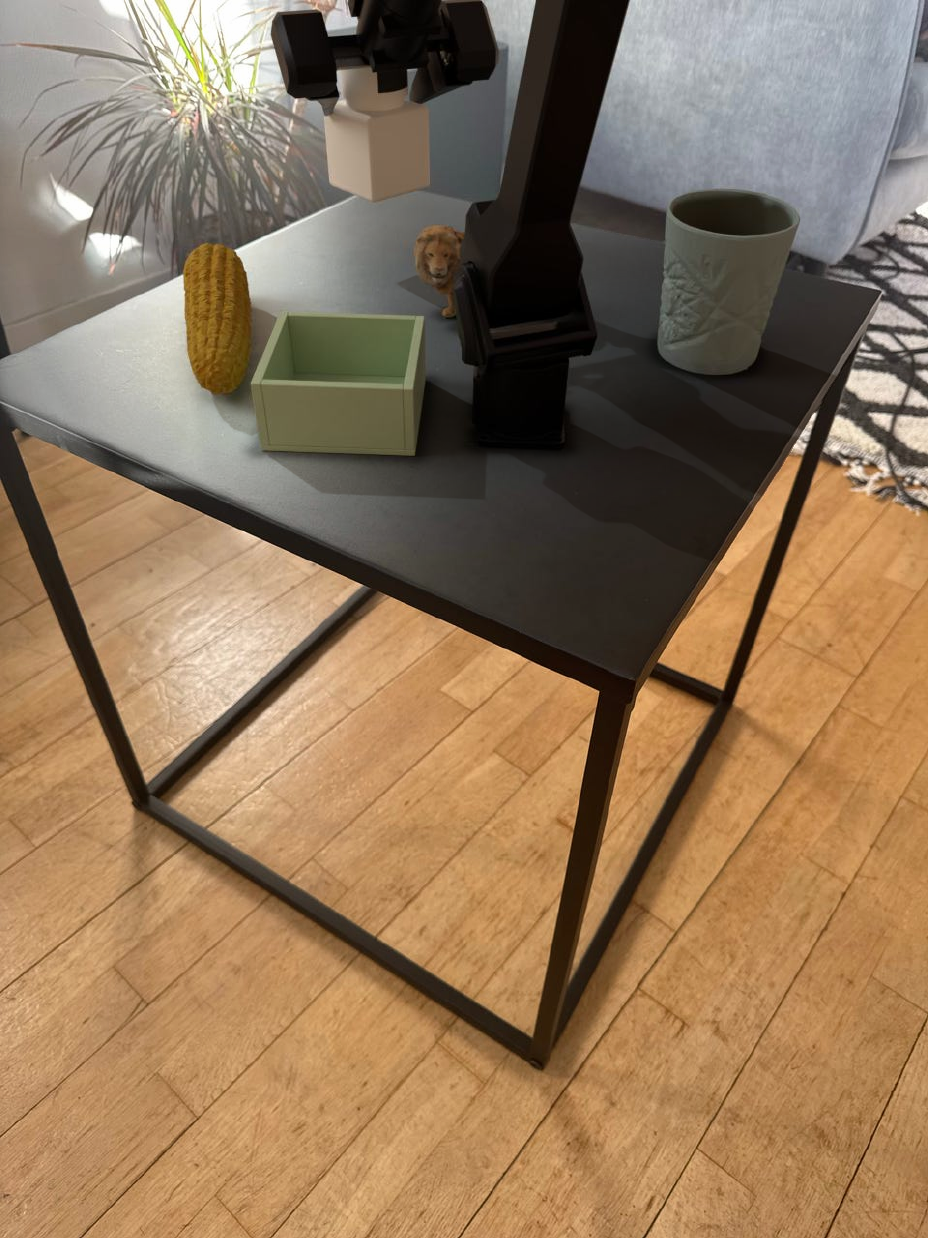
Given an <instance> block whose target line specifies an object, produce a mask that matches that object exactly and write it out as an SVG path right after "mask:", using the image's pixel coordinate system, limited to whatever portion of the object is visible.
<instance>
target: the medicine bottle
mask: <svg viewBox="0 0 928 1238" xmlns="http://www.w3.org/2000/svg"><path fill="white" fill-rule="evenodd" d="M339 76H340V77H339V79H340V90H341V92H340V93H341V97H342V98H344V99H343V100H338V101H337V103H336V105H335V108H334V110H333V112H332V113H331V114H330V115H329V116H324V113H323V125H324V136H325V148H326V159H327V171H328V180H329V181H328V182H329V184H330V185H331V186H332V187H335V188H337V189H340V190H342V191H344V192H346V193H348V194H351V195H353V196H356V197H358V198H360V199H362V200H366V201H368V202H370V203H373V204H374V203H378V202H382V201H386V200H389V199H392V198H396V197H399V196H403V195H406V194H410V193H414V192H417V191H421V190H424V189H428V188H429V187H430V185H431V159H430V158H431V155H430V154H431V153H430V151H431V150H430V149H431V148H430V109H429V107H428V106H426V105H424V104H418V103H415V102H412V101H410V100H409V99H406V98H407V97H408V95H409V86H408V85H409V81H408V70H397V71H387V72H376V73H373V72H372V69H371V68H359V69H348V70H339Z"/></svg>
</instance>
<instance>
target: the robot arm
mask: <svg viewBox="0 0 928 1238" xmlns="http://www.w3.org/2000/svg"><path fill="white" fill-rule="evenodd" d="M630 2H631V0H535V1H534V7H533V13H532V18H531V24H530V28H529V35H528V40H527V45H526V48H525V49H526V50H525V55H524V60H523V66H522V71H521V76H520V82H519V86H518V93H517V97H516V102H515V108H514V114H513V118H512V119H513V120H512V124H511V129H510V134H509V140H508V145H507V149H506V155H505V162H504V167H503V172H502V177H501V183H500V188H499V193H498V196H497V197H496V198H495V199H489V200H483V201H475V202H472V203H471V204H470V206H469V208H468V210H467V212H466V214H465V223H464V232H463V233H464V238H463V242H462V245H461V247H460V254H462V256H461V260H460V264H459V265H457V267H456V270H455V277H454V280H453V288H452V292H453V297H454V302H455V307H456V314H455V316H456V324H457V334H458V339H459V341H460V346H461V361H462V362H463V363H464V365H468V366H471V367H473V374H472V408H471V409H472V410H471V411H472V412H471V413H472V414H471V423H472V424H473V425H474V426H475V427H477V444H478V445H480V446H486V447H487V446H490V447H492V446H493V447H516V448H517V447H518V448H545V449H547V448H548V449H561V448H563V447H565V442H566V436H565V423H564V422H565V419H564V418H565V409H566V399H567V388H568V380H569V370H570V369H569V368H570V358H575V357H588V356H589V357H590V356H591V355H592V354H593V351H594V348H595V345H596V342H597V340H598V329H597V327H596V321H595V318H594V314H593V311H592V307H591V303H590V299H589V296H588V292H587V288H586V283H585V280H584V276H583V272H582V271H583V265H584V259H585V258H584V254H583V252H582V249H581V247H580V244H579V242H578V240H577V237H576V234H575V232H574V230H573V227H572V225H571V222H572V216H573V213H574V208H575V204H576V201H577V198H578V194H579V190H580V186H581V183H582V180H583V175H584V172H585V168H586V165H587V160H588V157H589V153H590V150H591V146H592V142H593V138H594V135H595V131H596V127H597V124H598V120H599V117H600V112H601V109H602V106H603V101H604V98H605V94H606V91H607V87H608V83H609V81H610V80H609V79H610V75H611V72H612V69H613V65H614V62H615V57H616V54H617V50H618V47H619V42H620V39H621V36H622V32H623V29H624V24H625V22H626V16H627V12H628V10H629V6H630ZM347 8H348V11H349V14H350V18H356V19H357V24H356V29H355V33H353V34H343V35H332V36H329V34H328V31H327V27H326V23H325V20H324V16H323V13H322V11H321V10H319V9H318V8H316V9H315V8H314V9H302V10H301V9H300V10H299V9H298V10H287V11H277V12H276V13H275V15H274V17H273V19H272V21H271V26H270V33H269V34H270V39H271V42H272V44H273V49H274V53H275V55H276V59H277V62H278V66H279V69H280V73H281V77H282V80H283V85H284V87H285V91H286V94H288V95H289V96H291V97H292V98H293V99H295V100H297V99H306V100H307V101H309V102H318V103H319V105H320V106H321V109H322V112H323V113H324V115H323V117H324V116H329V115H330V114H331V113H332V112H333V110H334V108H335V105H336V103H337V101H339V99H340V96H341V95H340V92H339V88H338V71H340V70H348V69H359V68H371V69H372V72H373V73H376V72H387V71H397V70H407V71H409V70H416V72H415V74H414V77H413V80H412V83H411V86H410V91H409V93H408V95H409V96H408V100H409V101H412V102H415V103H418V104H421V105H424V104H425V103H427V102H429V101H432V100H433V99H435V98H438V97H439V96H442V95H443V96H444V95H446V94H448V93H449V92H453V91H455V90H457V89H459V88H463V87H467V86H471V85H472V84H473V82H480V81H489V80H490V79H491V77H492V76H493V75H494V72H495V70H496V69H497V66H498V63H499V60H500V49H499V46H498V41H497V39H496V35H495V32H494V27H493V24H492V21H491V17H490V15H489V14H490V13H489V11H488V7H487V6H486V4H485V3H484V2H483V0H347ZM553 319H556V321H554V322H548V323H543V324H537V325H532V326H526V327H519V328H513V329H507V330H500V331H496V332H491V330H492V329H498V328H503V327H511V326H516V325H517V326H518V325H523V324H528V323H534V322H535V323H536V322H540V321H547V320H553Z"/></svg>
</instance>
